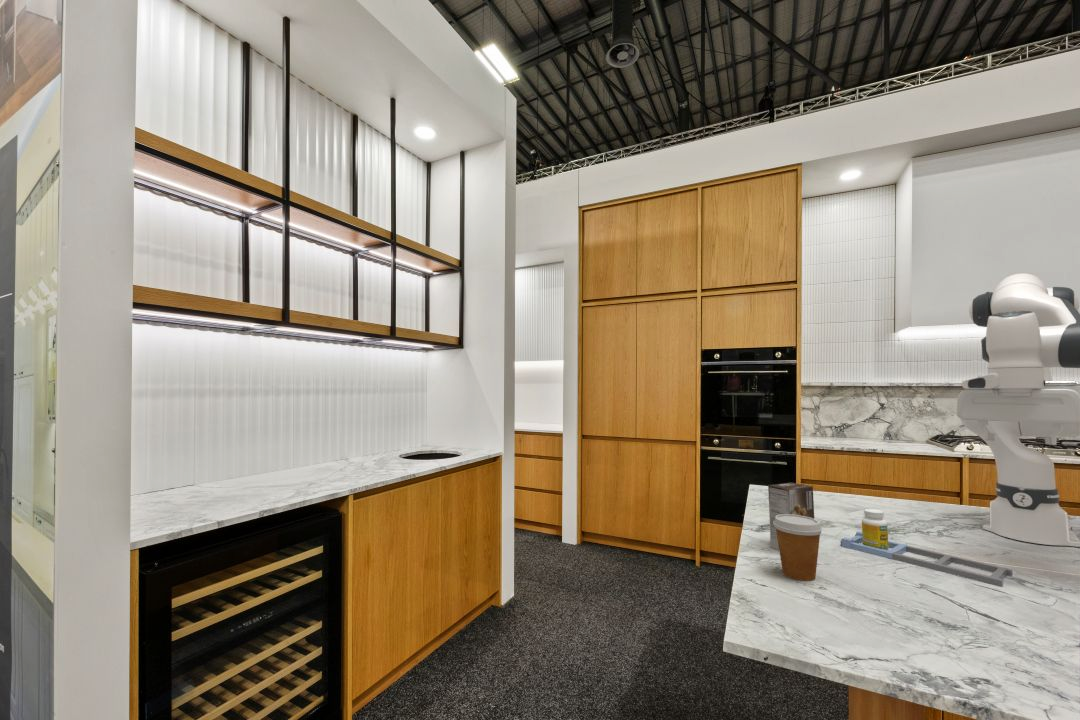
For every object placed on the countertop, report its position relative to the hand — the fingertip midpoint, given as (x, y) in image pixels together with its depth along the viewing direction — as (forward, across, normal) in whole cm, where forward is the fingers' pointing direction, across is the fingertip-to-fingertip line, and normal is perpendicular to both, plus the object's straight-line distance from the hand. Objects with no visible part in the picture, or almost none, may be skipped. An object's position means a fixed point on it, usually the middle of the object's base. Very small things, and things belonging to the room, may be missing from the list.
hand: (1019, 442), depth 101 cm
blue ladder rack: (+29, +17, +8) cm, 35 cm away
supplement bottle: (+29, +26, +8) cm, 40 cm away
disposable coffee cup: (+29, +29, +42) cm, 59 cm away
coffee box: (+29, +38, +26) cm, 55 cm away
